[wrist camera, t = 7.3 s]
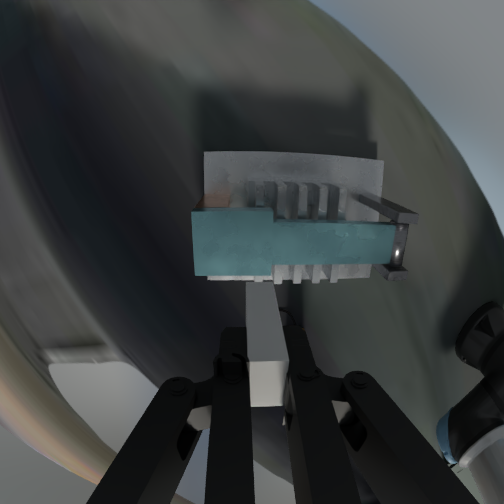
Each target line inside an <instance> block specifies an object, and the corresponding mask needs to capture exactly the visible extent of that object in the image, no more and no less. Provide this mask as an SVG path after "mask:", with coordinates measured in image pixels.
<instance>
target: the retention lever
mask: <svg viewBox="0 0 504 504" xmlns="http://www.w3.org/2000/svg"><path fill="white" fill-rule="evenodd" d="M273 212H274V211H273V209H272V208H256V207H221V208H194V209H193V210H192V212H191V214H192V235H193V252H194V267H195V276H271V266H272V265H320V264H387V265H390V266H394V267H399V266H401V265H402V261H403V256H404V251H405V245H406V240H407V234H408V228H409V224H408V223H397V222H395V221H393V220H391V221H390V222H373V221H346V220H310V219H273Z"/></svg>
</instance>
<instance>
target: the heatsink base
mask: <svg viewBox="0 0 504 504" xmlns="http://www.w3.org/2000/svg"><path fill="white" fill-rule="evenodd" d="M383 167H384V161H381V160H374V159H366V158H357V157H347V156H337V155H325V154H311V153H294V152H267V151H211V152H204V196H203V197H202V198H201V200H200V201H199V202H198V204H197V205H196V206H195V208H221V207H256V208H272V209H273V211H274V212H273V219H310V220H346V221H373V222H378V219H379V213H381V214H383V215H384V216H386V217H388V218H390V219H392V220H393V221H395V222H397V223H408V224H417V222H418V215H419V214H418V213H415V212H413V211H411V210H409V209H407V208H405V207H402V206H400V205H398V204H396V203H393V202H391V201H389V200H386V199H384V198H382V197H381V192H382V181H383ZM371 266H373V267H374V268H375V269H376V270H377V271H378V272H379V273H380V274H381V275H382V276H383V277H384V278H385V279H386V280H387V281H395V280H406V278H407V274H408V270H406V269H405V268H404V267H403V266H402V265H401V266H399V267H394V266H390V265H387V264H320V265H272V266H271V276H208V280H254V282H262V280H273V282H274V284H282V280H292V282H293V284H298V283H301V279H310V280H311V282H312V283H319V281H320V279H328V280H329V282H330V283H337V280H338V279H340V278H369V277H370V271H371Z"/></svg>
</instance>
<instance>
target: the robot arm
mask: <svg viewBox="0 0 504 504" xmlns="http://www.w3.org/2000/svg"><path fill="white" fill-rule="evenodd" d="M455 351H456V355H457V356H458V357H459V358H460V360H461V361H462V362H464V363H466V364H468V365H470V366H472V367H474V368H476V369H478V370H479V371H481V373H482V374H483V375H484V376H485V377H484V378H483V379H482V380H481V381H480V383H478V384H477V385H476V386H475V387H474V388H473V389H472V390H471V391H470V392H469V393H468V394H467V395H466V396H465V397H464V398H463V399H462V400H461V401H460V402H459V403H457V404H456V405H455V406H454V407H452V408H451V409H450V410H449V411H448V413H446V414H445V415H444V416H443V417H442V418H441V419H440V420H439V422H438V424H437V427H436V434H437V439H438V443H439V445H440V448H441V450H442V452H443V453H444V456H445V458H446V459H447V460H448V462H450V463H452V464H455V463H458V464H459V466H460V467H468V468H469V469H470V471H471V473H472V476H473V478H474V480H475V482H476V485H477V487H478V489H479V492H480V494H481V497H482V499H483V502H484V504H504V310H503V308H502V307H501V306H499V305H498V304H497V303H495V302H489V303H487V304H485V305H483V306H482V307H481V308H479V309H478V310H477V311H476V312H475V313H474V314H473V315H472V316H471V317H470V319H469V320H468V321H467V323H466V324H465V326H464V327H463V329H462V331H461V332H460V334H459V337H458V339H457V342H456V347H455ZM213 365H214V376H213V377H212V378H210V379H208V380H206V381H203V382H198V383H193V382H192V381H191V380H190V379H187V378H185V377H174V378H170V379H168V380H166V381H165V382H164V383H163V384H162V386H161V387H160V389H159V390H158V392H157V393H156V395H155V396H154V398H153V400H152V401H151V403H150V404H149V406H148V407H147V409H146V411H145V413H144V414H143V415H142V417H141V418H140V420H139V421H138V423H137V425H136V426H135V428H134V429H133V431H132V432H131V434H130V436H129V437H128V439H127V440H126V442H125V443H124V445H123V446H122V448H121V450H120V451H119V453H118V454H117V456H116V457H115V459H114V461H113V462H112V464H111V465H110V467H109V468H108V470H107V472H106V473H105V475H104V476H103V478H102V479H101V481H100V483H99V484H98V486H97V487H96V489H95V490H94V492H93V494H92V495H91V497H90V498H89V500H88V502H87V503H86V504H170V502H171V500H172V498H173V496H174V494H175V491H176V489H177V487H178V485H179V483H180V480H181V478H182V476H183V474H184V472H185V469H186V467H187V465H188V463H189V460H190V458H191V456H192V454H193V451H194V449H195V447H196V444H197V442H198V440H199V438H200V435H201V433H202V430H203V429H208V428H210V434H209V447H208V459H207V472H206V487H205V503H204V504H255V495H254V472H253V449H252V425H251V407H258V406H283V403H285V412H284V418H283V425H286V433H287V440H288V447H289V454H290V462H291V469H292V477H293V484H294V491H295V499H296V504H361V500H360V497H359V493H358V489H357V485H356V482H355V478H354V475H353V471H352V467H351V464H350V460H349V457H348V453H349V455H350V456H351V458H352V459H353V461H354V462H355V464H356V466H357V467H358V469H359V470H360V472H361V473H362V475H363V477H364V478H365V480H366V481H367V483H368V484H369V486H370V487H371V489H372V491H373V492H374V494H375V495H376V497H377V498H378V500H379V501H380V503H381V504H479V503H478V502H477V500H476V499H475V498H474V497H473V495H472V494H471V493H470V492H469V490H468V489H467V488H466V487H465V486H464V485H463V483H462V482H461V481H460V480H459V478H458V477H457V476H456V475H455V474H454V472H453V471H452V470H451V469H450V468H449V466H448V465H447V464H446V463H445V462H444V460H443V459H442V458H441V457H440V456H439V454H438V453H437V452H436V451H435V450H434V448H433V447H432V446H431V445H430V444H429V443H428V441H427V440H426V439H425V438H424V437H423V435H422V434H421V433H420V432H419V431H418V429H417V428H416V427H415V426H414V425H413V424H412V422H411V421H410V420H409V419H408V418H407V417H406V415H405V414H404V413H403V412H402V411H401V409H400V408H399V407H398V406H397V405H396V404H395V402H394V401H393V400H392V399H391V398H390V397H389V395H388V394H387V393H386V392H385V391H384V390H383V388H382V387H381V386H380V385H379V384H378V383H377V381H376V380H375V379H374V378H373V377H372V376H371V375H370V374H368V373H366V372H363V371H352V372H350V373H348V374H346V375H345V377H344V378H336V377H330V376H327V375H325V374H323V372H322V371H321V369H319V368H318V367H317V366H316V364H315V361H314V358H313V355H312V351H311V348H310V346H309V342H308V340H307V335H306V332H305V331H304V330H303V329H302V328H301V327H300V326H282V323H281V319H280V314H279V309H278V304H277V300H276V295H275V290H274V285H273V282H246V327H226V328H225V329H224V330H223V332H222V333H221V338H220V348H219V354H218V355H217V356H216V357H215V359H214V361H213ZM492 399H493V400H492ZM494 402H495V403H494ZM502 413H503V414H502ZM347 451H348V453H347Z"/></svg>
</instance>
